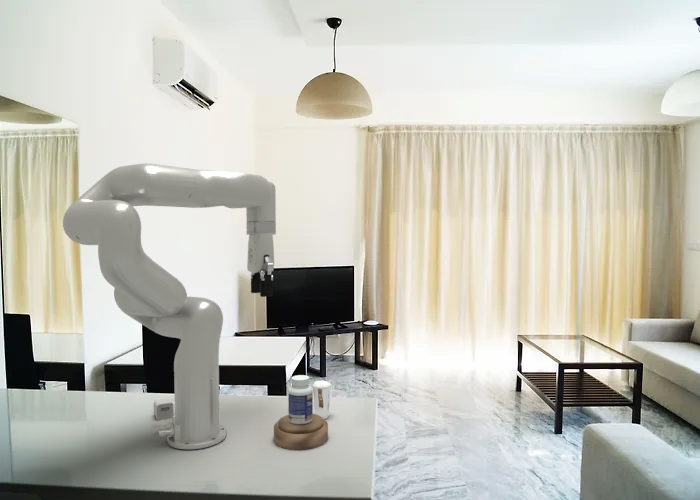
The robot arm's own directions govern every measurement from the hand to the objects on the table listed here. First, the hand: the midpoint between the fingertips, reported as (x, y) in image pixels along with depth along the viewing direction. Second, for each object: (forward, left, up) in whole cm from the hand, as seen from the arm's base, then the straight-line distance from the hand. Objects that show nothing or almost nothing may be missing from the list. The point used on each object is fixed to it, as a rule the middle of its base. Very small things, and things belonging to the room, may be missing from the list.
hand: (261, 294), depth 126 cm
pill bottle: (+3, -22, -26) cm, 35 cm away
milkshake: (+12, -12, -31) cm, 35 cm away
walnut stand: (+3, -22, -30) cm, 38 cm away
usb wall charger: (-24, +7, -31) cm, 40 cm away
